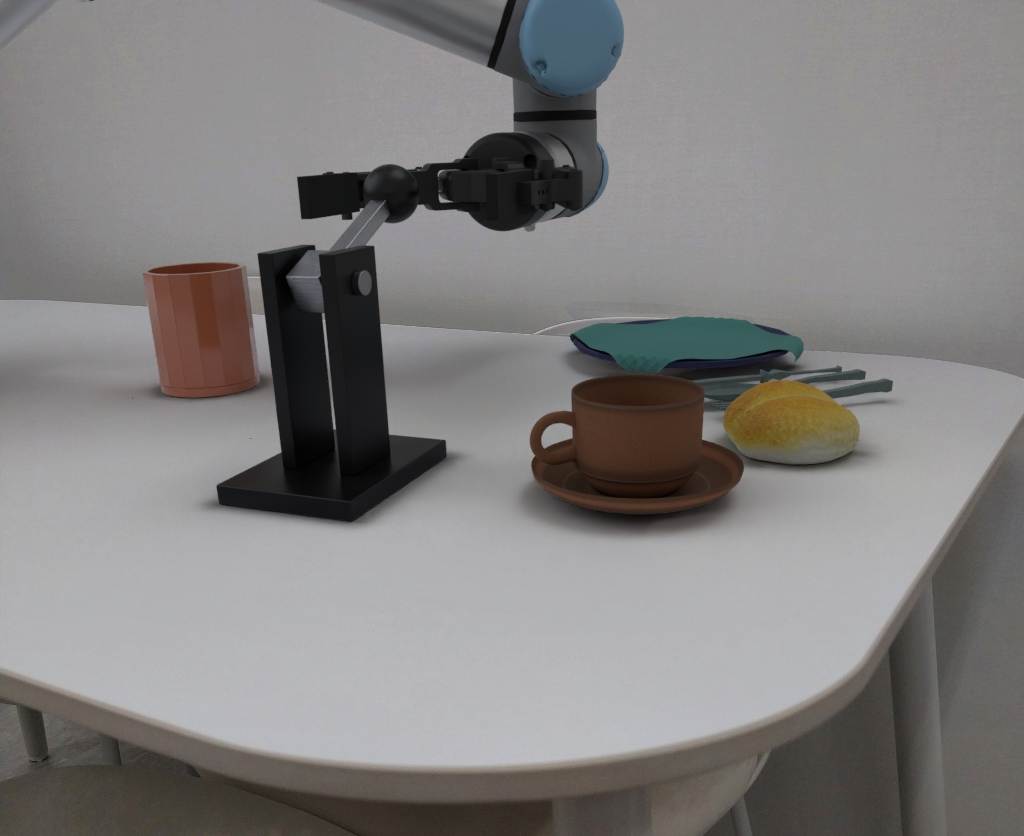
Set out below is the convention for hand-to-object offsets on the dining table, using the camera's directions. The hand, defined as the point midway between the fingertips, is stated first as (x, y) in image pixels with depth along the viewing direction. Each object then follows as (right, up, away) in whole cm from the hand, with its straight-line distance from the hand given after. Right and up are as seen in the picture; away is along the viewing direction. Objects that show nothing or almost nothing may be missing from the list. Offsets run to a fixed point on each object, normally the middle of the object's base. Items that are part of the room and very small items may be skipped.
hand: (393, 197), depth 62 cm
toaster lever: (-1, -4, -2) cm, 5 cm away
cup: (-18, -9, +22) cm, 30 cm away
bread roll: (+26, -16, +2) cm, 30 cm away
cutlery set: (+25, -8, +22) cm, 34 cm away
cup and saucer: (+15, -19, -6) cm, 25 cm away
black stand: (-3, -18, -2) cm, 19 cm away
